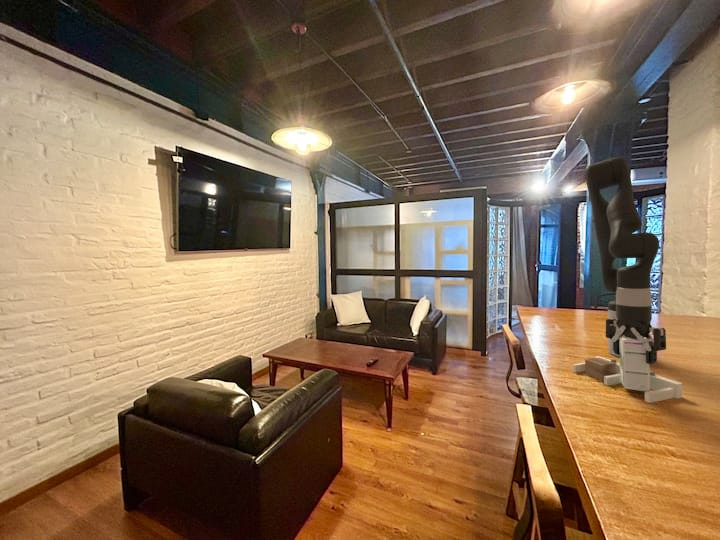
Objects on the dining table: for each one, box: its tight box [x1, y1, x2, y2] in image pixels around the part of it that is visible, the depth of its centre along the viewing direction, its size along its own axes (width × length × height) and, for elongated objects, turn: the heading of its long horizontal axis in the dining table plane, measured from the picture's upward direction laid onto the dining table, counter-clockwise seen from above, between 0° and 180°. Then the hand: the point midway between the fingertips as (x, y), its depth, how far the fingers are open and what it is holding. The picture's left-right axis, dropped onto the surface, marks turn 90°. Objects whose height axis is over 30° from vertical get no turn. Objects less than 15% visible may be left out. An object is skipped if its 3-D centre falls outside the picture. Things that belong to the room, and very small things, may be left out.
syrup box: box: [619, 335, 651, 392], centre depth 85 cm, size 6×6×14 cm
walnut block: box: [584, 357, 616, 382], centre depth 96 cm, size 6×6×5 cm
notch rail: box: [572, 355, 683, 404], centre depth 91 cm, size 11×23×5 cm, turn 12°
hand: (633, 358), depth 85 cm, fingers closed on syrup box, 8 cm apart
